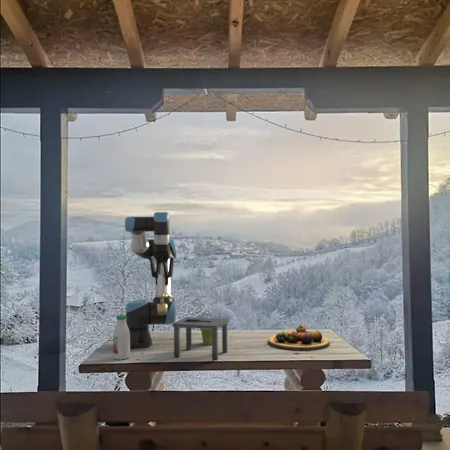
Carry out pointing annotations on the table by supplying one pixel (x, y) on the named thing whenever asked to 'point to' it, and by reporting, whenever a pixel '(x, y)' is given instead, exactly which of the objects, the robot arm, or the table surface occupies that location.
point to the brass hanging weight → (161, 307)
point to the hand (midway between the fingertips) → (162, 291)
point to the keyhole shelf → (203, 324)
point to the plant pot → (207, 336)
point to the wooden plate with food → (299, 340)
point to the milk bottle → (121, 339)
